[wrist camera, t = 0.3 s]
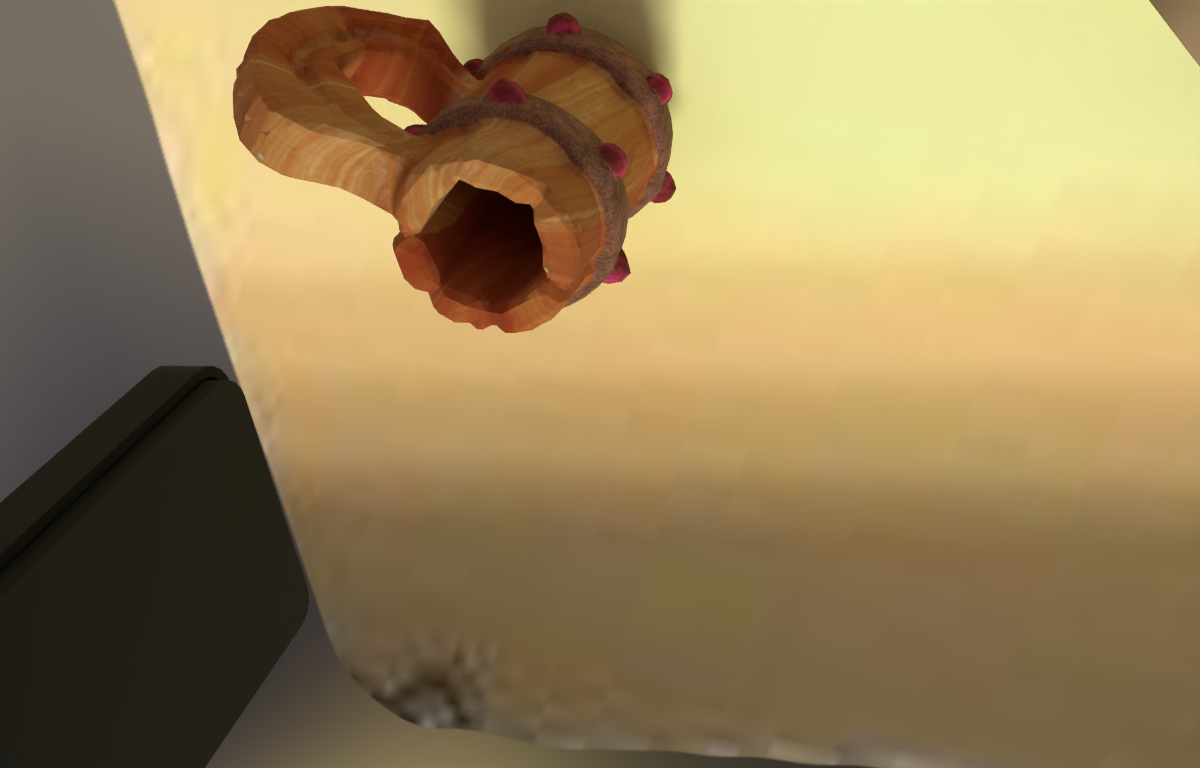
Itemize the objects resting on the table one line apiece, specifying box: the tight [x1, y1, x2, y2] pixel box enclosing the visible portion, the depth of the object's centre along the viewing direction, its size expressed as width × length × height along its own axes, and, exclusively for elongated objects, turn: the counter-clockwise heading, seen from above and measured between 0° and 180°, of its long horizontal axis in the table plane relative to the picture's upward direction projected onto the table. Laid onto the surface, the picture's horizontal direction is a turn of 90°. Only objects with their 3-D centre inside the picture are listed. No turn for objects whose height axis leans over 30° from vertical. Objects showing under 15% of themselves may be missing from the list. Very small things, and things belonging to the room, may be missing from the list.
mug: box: [233, 6, 676, 333], centre depth 41 cm, size 15×8×15 cm, turn 61°
